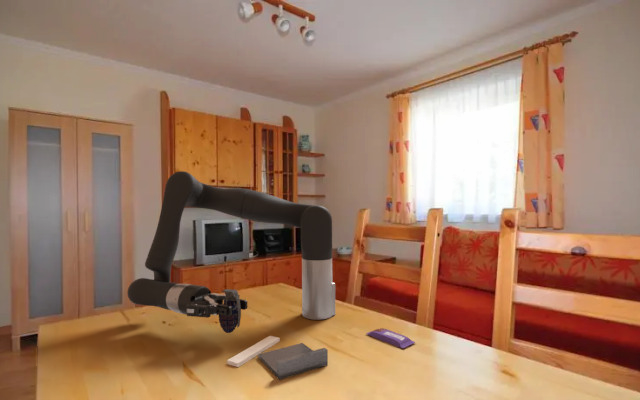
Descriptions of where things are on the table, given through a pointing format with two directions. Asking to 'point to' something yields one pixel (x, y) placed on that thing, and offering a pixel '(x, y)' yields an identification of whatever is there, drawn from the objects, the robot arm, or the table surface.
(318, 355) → the plate
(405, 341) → the snack package
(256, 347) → the door edge strip
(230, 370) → the table surface
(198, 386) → the table surface
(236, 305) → the hand grenade
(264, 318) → the table surface
